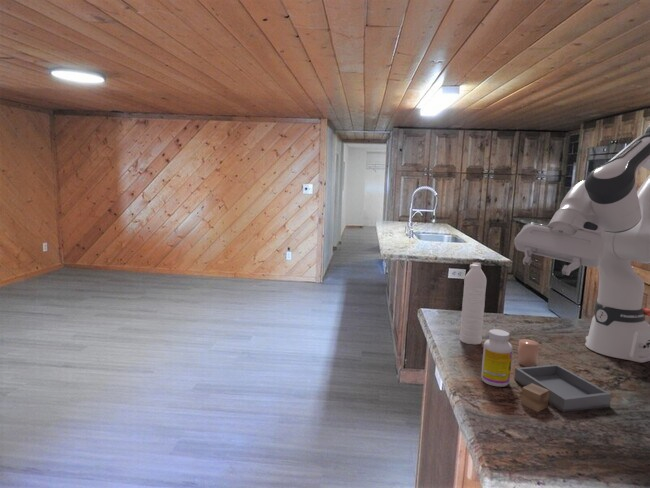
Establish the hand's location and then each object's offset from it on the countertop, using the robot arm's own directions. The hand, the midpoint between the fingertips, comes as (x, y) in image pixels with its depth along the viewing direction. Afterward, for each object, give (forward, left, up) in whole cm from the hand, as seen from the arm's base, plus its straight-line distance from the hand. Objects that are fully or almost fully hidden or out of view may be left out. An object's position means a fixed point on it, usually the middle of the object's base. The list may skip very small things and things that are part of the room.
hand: (544, 268), depth 107 cm
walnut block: (+10, +13, -29) cm, 33 cm away
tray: (0, +9, -28) cm, 30 cm away
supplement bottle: (+12, +1, -29) cm, 31 cm away
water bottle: (+3, -24, -29) cm, 38 cm away
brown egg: (-4, -7, -29) cm, 30 cm away
